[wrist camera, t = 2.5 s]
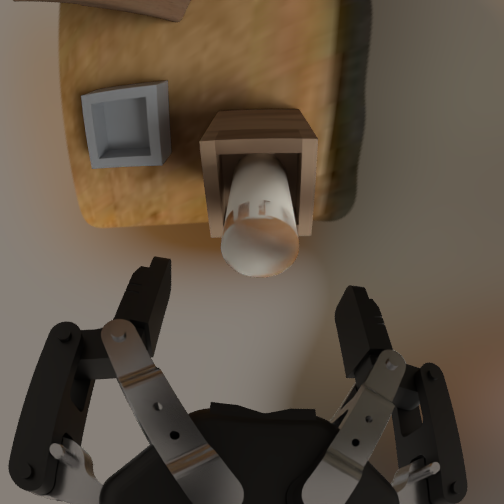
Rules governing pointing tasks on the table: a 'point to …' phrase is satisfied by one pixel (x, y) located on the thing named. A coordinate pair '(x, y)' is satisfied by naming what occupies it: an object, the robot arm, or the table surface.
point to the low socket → (128, 125)
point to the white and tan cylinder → (259, 219)
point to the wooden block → (137, 6)
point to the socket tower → (259, 141)
